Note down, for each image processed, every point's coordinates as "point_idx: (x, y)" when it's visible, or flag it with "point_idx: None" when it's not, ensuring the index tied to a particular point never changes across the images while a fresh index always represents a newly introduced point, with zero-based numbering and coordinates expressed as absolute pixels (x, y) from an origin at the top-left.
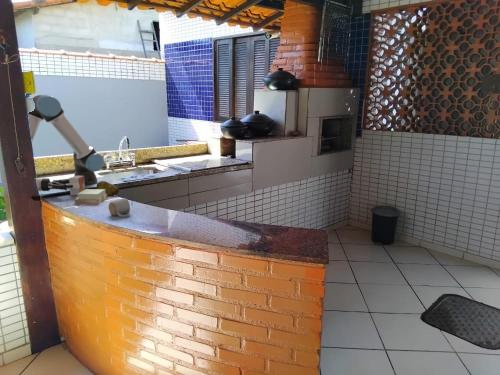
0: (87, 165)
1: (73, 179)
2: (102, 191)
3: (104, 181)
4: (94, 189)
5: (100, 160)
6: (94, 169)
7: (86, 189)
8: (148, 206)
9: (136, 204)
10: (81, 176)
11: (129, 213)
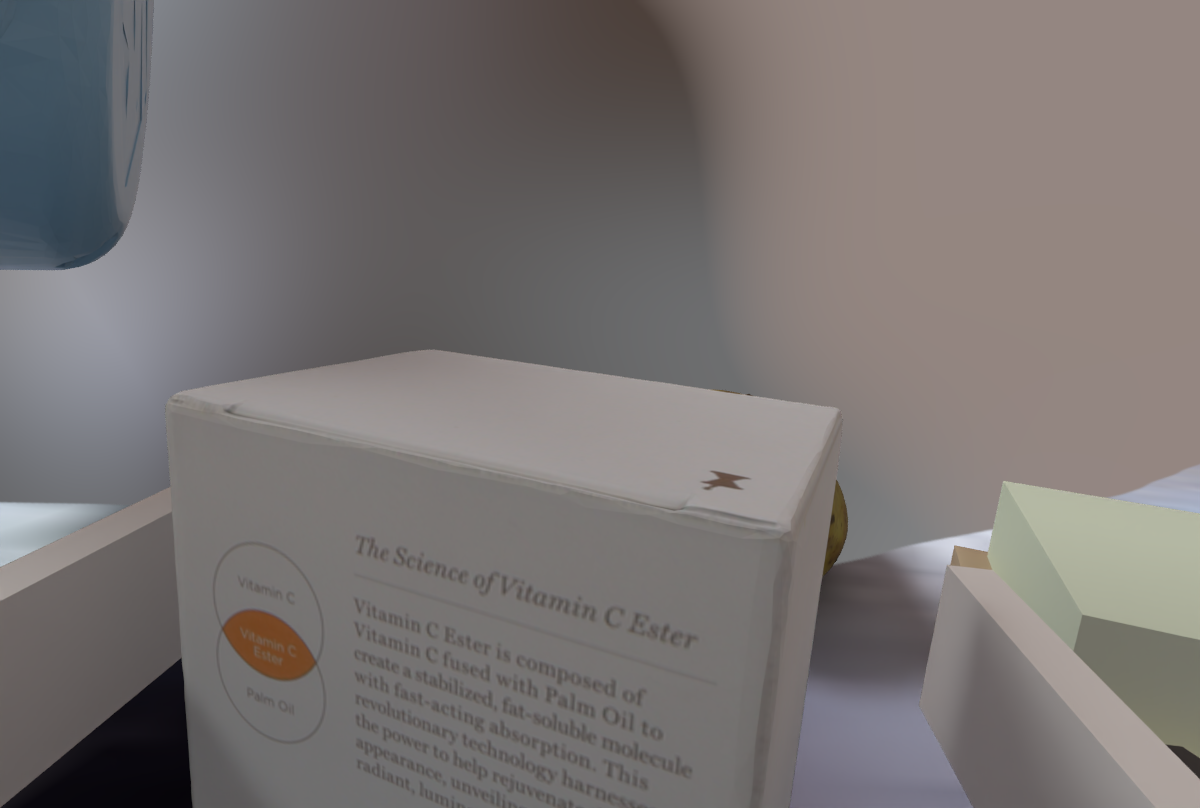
0: (76, 63)
1: (821, 515)
2: (1140, 508)
3: (731, 392)
4: (1060, 540)
5: (146, 33)
6: (121, 217)
7: (1120, 611)
8: (1184, 481)
9: (1160, 504)
10: (538, 365)
11: None
